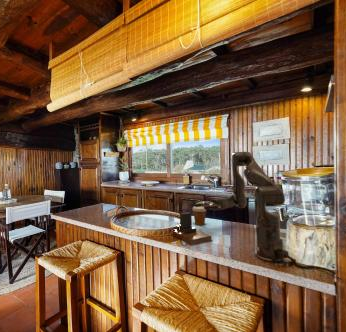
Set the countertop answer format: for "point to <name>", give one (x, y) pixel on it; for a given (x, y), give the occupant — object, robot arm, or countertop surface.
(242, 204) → the robot arm
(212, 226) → the countertop surface
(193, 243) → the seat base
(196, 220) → the disposable coffee cup
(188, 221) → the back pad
